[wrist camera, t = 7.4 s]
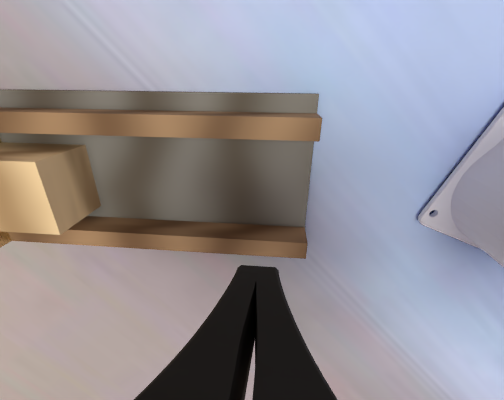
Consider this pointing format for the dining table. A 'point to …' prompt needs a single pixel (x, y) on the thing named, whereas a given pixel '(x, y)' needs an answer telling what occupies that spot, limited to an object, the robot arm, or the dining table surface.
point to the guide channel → (180, 166)
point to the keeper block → (45, 187)
